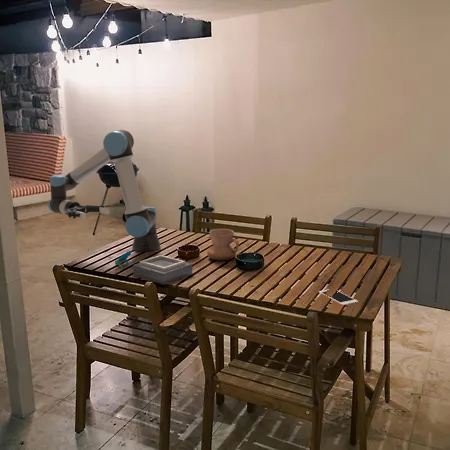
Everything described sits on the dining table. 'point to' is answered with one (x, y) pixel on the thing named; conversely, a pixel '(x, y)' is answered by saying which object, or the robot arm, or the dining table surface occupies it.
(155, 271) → the grey open tray
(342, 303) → the cell phone
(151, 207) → the robot arm
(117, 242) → the dining table surface
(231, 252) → the ceramic jug
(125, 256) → the gear
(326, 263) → the dining table surface
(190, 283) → the dining table surface
